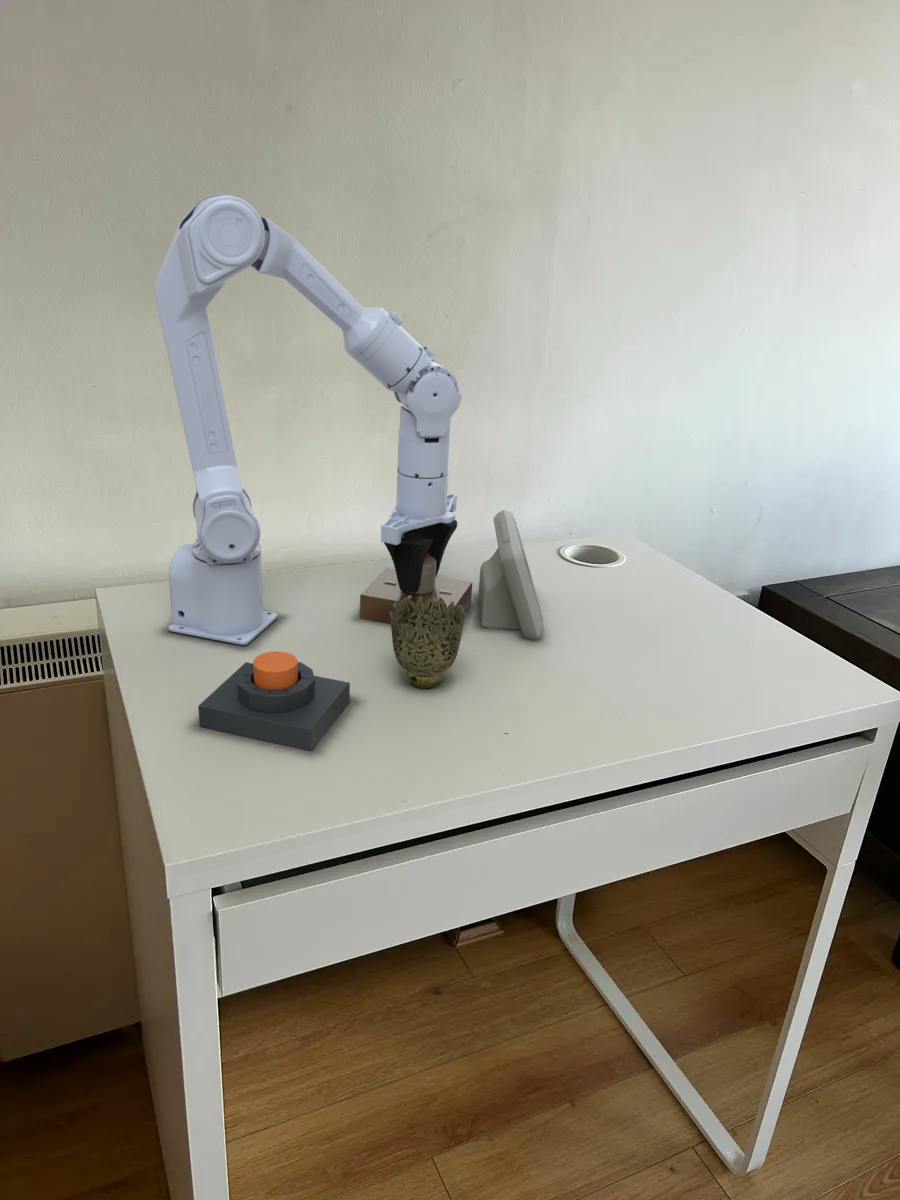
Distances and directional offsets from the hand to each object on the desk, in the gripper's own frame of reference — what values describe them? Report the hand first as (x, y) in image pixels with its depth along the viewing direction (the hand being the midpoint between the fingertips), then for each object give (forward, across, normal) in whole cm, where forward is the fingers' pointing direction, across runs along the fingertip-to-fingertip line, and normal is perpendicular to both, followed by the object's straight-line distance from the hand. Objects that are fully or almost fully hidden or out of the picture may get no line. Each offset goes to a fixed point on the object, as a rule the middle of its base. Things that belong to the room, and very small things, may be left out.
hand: (417, 584), depth 106 cm
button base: (+3, -27, 0) cm, 28 cm away
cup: (+4, -15, -9) cm, 17 cm away
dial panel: (+3, 0, 0) cm, 3 cm away
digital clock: (+4, +6, -10) cm, 12 cm away
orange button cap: (0, -27, 0) cm, 27 cm away
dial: (0, 0, 0) cm, 0 cm away
